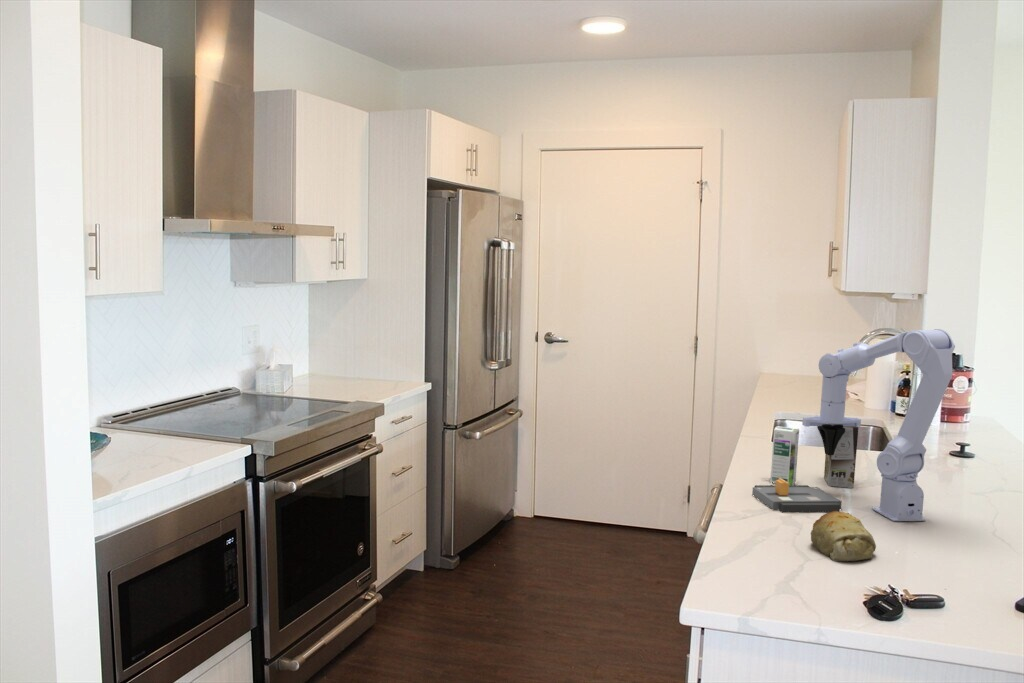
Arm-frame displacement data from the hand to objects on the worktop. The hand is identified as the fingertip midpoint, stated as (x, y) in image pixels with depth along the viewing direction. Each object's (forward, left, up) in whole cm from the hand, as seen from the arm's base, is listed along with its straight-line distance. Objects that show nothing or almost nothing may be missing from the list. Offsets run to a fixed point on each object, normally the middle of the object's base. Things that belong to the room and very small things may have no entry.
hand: (829, 454), depth 216 cm
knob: (-8, +16, -8) cm, 19 cm away
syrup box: (+10, +7, -10) cm, 16 cm away
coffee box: (+9, -8, -10) cm, 16 cm away
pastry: (-41, +18, -10) cm, 46 cm away
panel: (-8, +12, -10) cm, 17 cm away
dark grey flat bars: (-8, +12, -10) cm, 17 cm away
